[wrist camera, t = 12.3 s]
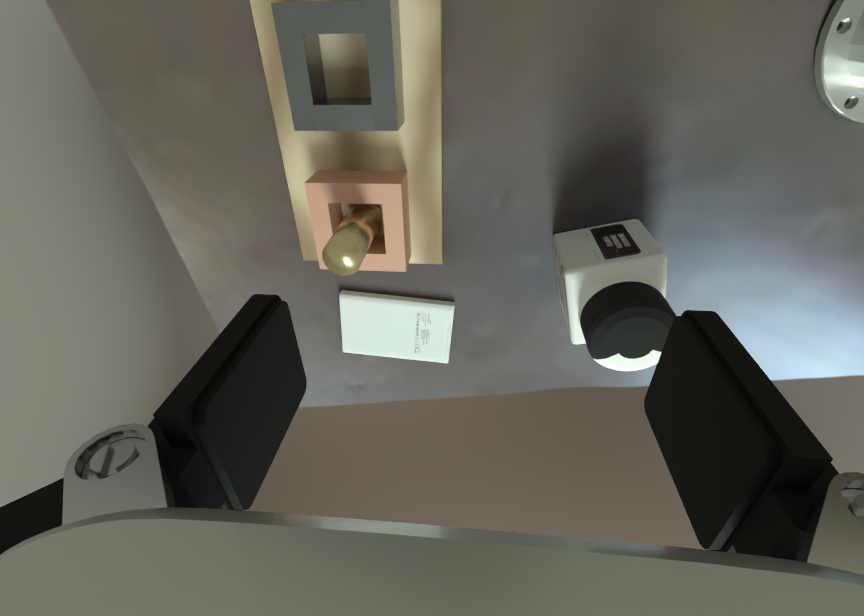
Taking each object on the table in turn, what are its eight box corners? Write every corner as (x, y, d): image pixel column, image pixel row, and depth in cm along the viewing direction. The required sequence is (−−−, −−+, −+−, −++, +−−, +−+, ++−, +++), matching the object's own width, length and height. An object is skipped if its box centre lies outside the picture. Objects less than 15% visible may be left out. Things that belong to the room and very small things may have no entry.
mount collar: (398, 1, 31) (390, -1, 28) (404, 121, 35) (397, 131, 32) (290, 4, 31) (270, 2, 28) (309, 121, 36) (294, 130, 33)
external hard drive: (342, 286, 47) (455, 299, 47) (346, 344, 52) (448, 356, 51) (338, 294, 46) (454, 307, 45) (342, 353, 50) (447, 365, 50)
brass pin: (381, 198, 39) (359, 240, 31) (384, 229, 40) (363, 276, 33) (349, 198, 39) (319, 239, 32) (353, 228, 41) (325, 275, 33)
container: (551, 233, 41) (576, 309, 30) (638, 216, 39) (698, 291, 28) (559, 300, 45) (584, 388, 34) (638, 287, 43) (690, 377, 32)
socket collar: (407, 171, 37) (400, 184, 34) (411, 254, 42) (406, 271, 39) (317, 170, 38) (304, 182, 35) (331, 251, 42) (320, 269, 40)
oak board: (442, -16, 31) (440, -18, 30) (443, 257, 43) (442, 264, 42) (256, -11, 32) (247, -12, 31) (308, 253, 44) (303, 260, 43)
